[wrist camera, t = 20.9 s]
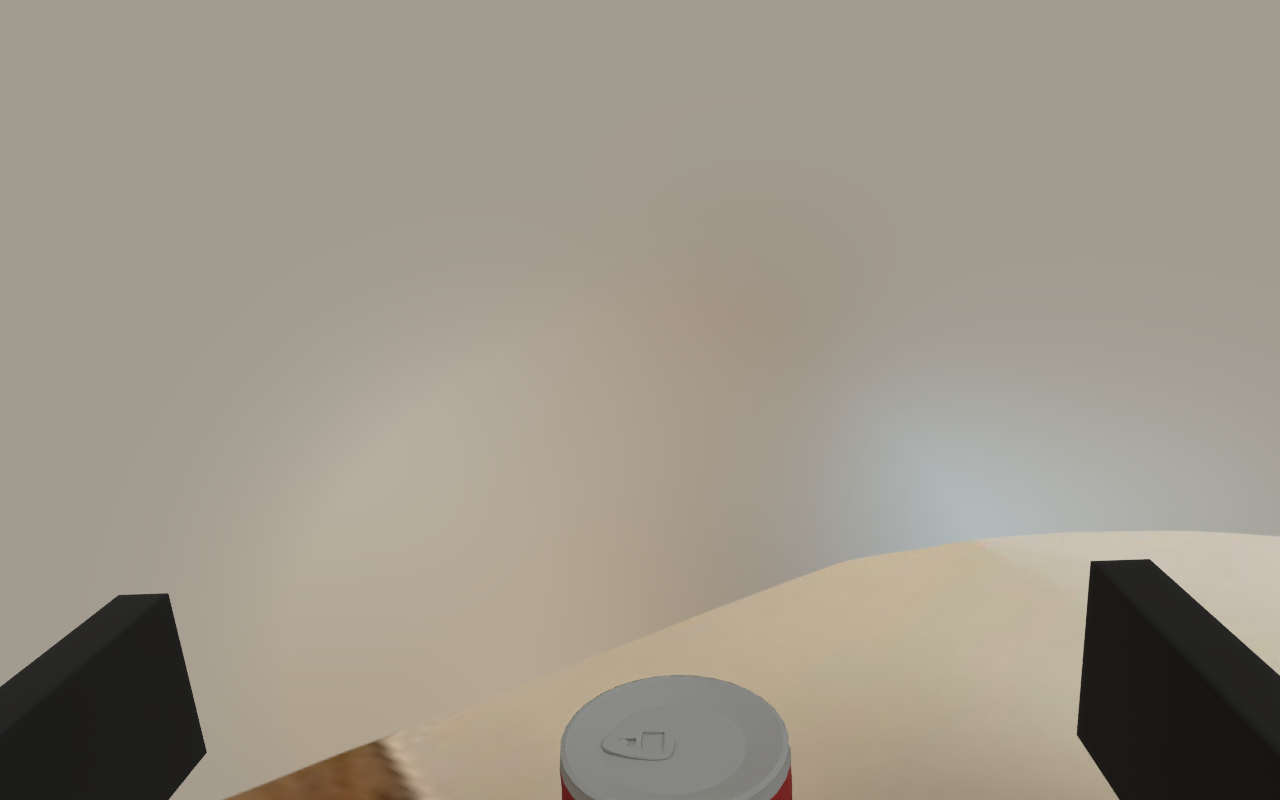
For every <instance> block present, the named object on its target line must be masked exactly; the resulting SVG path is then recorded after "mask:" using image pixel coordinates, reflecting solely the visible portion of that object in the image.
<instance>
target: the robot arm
mask: <svg viewBox="0 0 1280 800" xmlns="http://www.w3.org/2000/svg"><path fill="white" fill-rule="evenodd" d="M1077 736H1078V737H1079V739H1080V740H1081V742H1082V743H1083V745H1084V746H1085V748H1086V749H1087V751H1088V752H1089V754H1090V755H1091V757H1092V758H1093V760H1094V761H1095V763H1096V765H1097V766H1098V768H1099V769H1100V771H1101V772H1102V774H1103V775H1104V777H1105V778H1106V780H1107V781H1108V783H1109V784H1110V786H1111V787H1112V789H1113V790H1114V792H1115V793H1116V795H1117V796H1118V798H1119V799H1120V800H1280V676H1279V675H1278V674H1277V673H1276V672H1275V671H1274V670H1273V669H1272V668H1270V667H1269V666H1268V665H1267V664H1266V663H1265V662H1264V661H1263V660H1262V659H1260V658H1259V657H1258V656H1257V655H1256V654H1255V653H1254V652H1253V651H1251V650H1250V649H1249V648H1248V647H1247V646H1246V645H1245V644H1244V643H1242V642H1241V641H1240V640H1239V639H1238V638H1237V637H1236V636H1235V635H1234V634H1232V633H1231V632H1230V631H1229V630H1228V629H1227V628H1226V627H1225V626H1223V625H1222V624H1221V623H1220V622H1219V621H1218V620H1217V619H1216V618H1215V617H1213V616H1212V615H1211V614H1210V613H1209V612H1208V611H1207V610H1206V609H1204V608H1203V607H1202V606H1201V605H1200V604H1199V603H1198V602H1197V601H1196V600H1194V599H1193V598H1192V597H1191V596H1190V595H1189V594H1188V593H1187V592H1185V591H1184V590H1183V589H1182V588H1181V587H1180V586H1179V585H1178V584H1177V583H1175V582H1174V581H1173V580H1172V579H1171V578H1170V577H1169V576H1168V575H1166V574H1165V573H1164V572H1163V571H1162V570H1161V569H1160V568H1159V567H1158V566H1156V565H1155V564H1154V563H1153V562H1152V561H1151V560H1150V559H1144V560H1115V561H1091V566H1090V578H1089V591H1088V603H1087V616H1086V628H1085V640H1084V653H1083V665H1082V677H1081V690H1080V702H1079V714H1078V727H1077ZM206 753H207V752H206V748H205V743H204V740H203V735H202V731H201V727H200V723H199V719H198V715H197V710H196V706H195V702H194V698H193V694H192V690H191V686H190V682H189V677H188V674H187V669H186V665H185V661H184V657H183V653H182V648H181V644H180V640H179V637H178V632H177V628H176V624H175V620H174V615H173V611H172V607H171V603H170V599H169V595H168V594H140V595H139V594H138V595H119V596H117V597H116V598H114V599H113V600H112V601H111V602H109V603H108V604H107V605H105V606H104V607H103V608H102V609H100V610H99V611H98V612H96V613H95V614H94V615H93V616H91V617H90V618H89V619H87V620H86V621H85V622H84V623H82V624H81V625H80V626H79V627H77V628H76V629H75V630H73V631H72V632H71V633H69V634H68V635H67V636H65V637H64V638H63V639H62V640H60V641H59V642H58V643H57V644H55V645H54V646H53V647H51V648H50V649H49V650H47V651H46V652H45V653H44V654H42V655H41V656H40V657H38V658H37V659H36V660H35V661H34V662H32V663H31V664H29V665H28V666H27V667H25V668H24V669H23V670H22V671H20V672H19V673H18V674H16V675H15V676H14V677H13V678H11V679H10V680H9V681H7V682H6V683H5V684H4V685H2V686H1V687H0V800H169V798H170V797H171V796H172V795H173V793H174V792H175V791H176V790H177V788H178V787H179V786H180V785H181V783H182V782H183V781H184V780H185V779H186V777H187V776H188V775H189V774H190V772H191V771H192V770H193V769H194V767H195V766H196V765H197V763H198V762H199V761H200V760H201V759H202V758H203V756H204V755H205V754H206Z"/></svg>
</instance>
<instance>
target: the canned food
mask: <svg viewBox="0 0 1280 800" xmlns="http://www.w3.org/2000/svg"><path fill="white" fill-rule="evenodd" d="M560 775H561V785H562V800H792V775H791V753H790V746H789V743H788V733H787V730H786V727H785V724H784V722H783V720H782V719H781V717H780V716H779V714H778V713H777V712H776V710H775V709H774V708H773V707H772V706H771V705H769V704H768V703H767V702H766V701H765V700H764V699H763V698H761V697H759V696H758V695H756V694H754V693H753V692H751V691H749V690H747V689H745V688H742V687H740V686H738V685H735V684H733V683H729V682H725V681H722V680H718V679H714V678H707V677H700V676H684V675H671V676H660V677H651V678H646V679H641V680H636V681H633V682H630V683H626V684H623V685H620V686H617V687H615V688H613V689H611V690H609V691H606V692H604V693H602V694H600V695H599V696H597V697H596V698H594V699H593V700H591V701H590V702H588V703H587V704H585V705H584V706H583V707H582V708H581V709H580V710H579V711H578V712H577V713H576V714H575V715H574V716H573V718H572V719H571V720H570V722H569V723H568V725H567V726H566V728H565V731H564V734H563V736H562V739H561V751H560Z"/></svg>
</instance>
